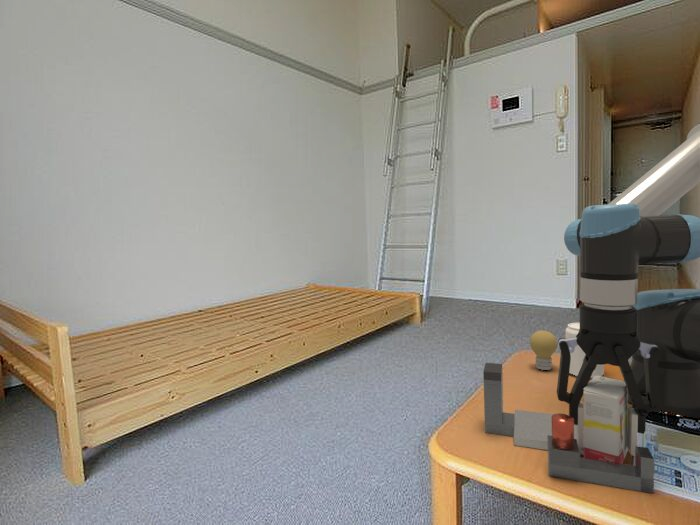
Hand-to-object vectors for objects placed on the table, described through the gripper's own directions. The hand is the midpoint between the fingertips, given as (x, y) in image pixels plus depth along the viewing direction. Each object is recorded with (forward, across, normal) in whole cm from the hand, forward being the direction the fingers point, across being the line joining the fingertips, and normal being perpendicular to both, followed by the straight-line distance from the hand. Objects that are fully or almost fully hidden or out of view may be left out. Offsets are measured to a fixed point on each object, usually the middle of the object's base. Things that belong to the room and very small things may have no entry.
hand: (605, 446), depth 65 cm
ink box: (+2, 0, 0) cm, 2 cm away
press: (+2, +11, -5) cm, 12 cm away
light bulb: (+2, +7, -40) cm, 41 cm away
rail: (+2, +2, +6) cm, 7 cm away
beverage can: (+2, -2, -39) cm, 39 cm away
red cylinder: (0, +7, +6) cm, 9 cm away
